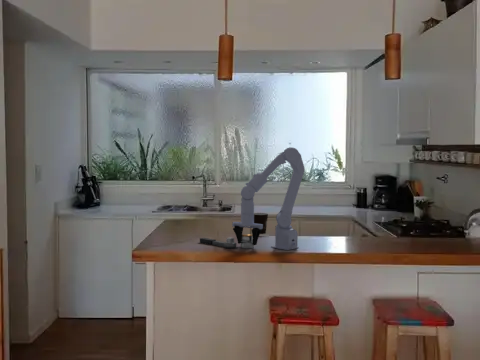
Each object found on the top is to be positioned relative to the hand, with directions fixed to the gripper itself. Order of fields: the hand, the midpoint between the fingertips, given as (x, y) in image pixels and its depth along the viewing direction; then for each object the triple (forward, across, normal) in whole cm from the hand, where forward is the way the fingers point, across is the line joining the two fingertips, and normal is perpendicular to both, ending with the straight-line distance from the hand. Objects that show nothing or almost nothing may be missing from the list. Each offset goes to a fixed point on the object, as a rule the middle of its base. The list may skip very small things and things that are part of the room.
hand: (247, 244), depth 241 cm
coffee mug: (+2, +16, -40) cm, 43 cm away
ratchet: (+1, +14, +3) cm, 14 cm away
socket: (+1, 0, 0) cm, 1 cm away
